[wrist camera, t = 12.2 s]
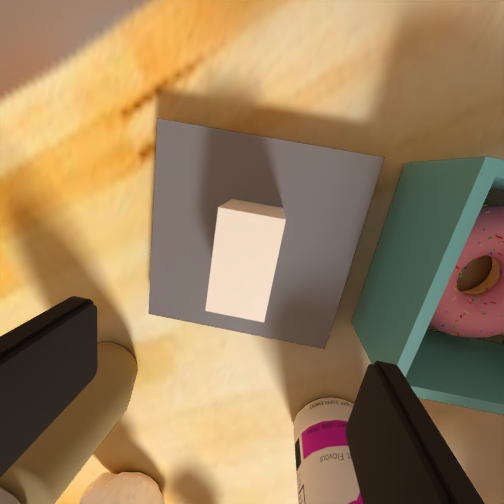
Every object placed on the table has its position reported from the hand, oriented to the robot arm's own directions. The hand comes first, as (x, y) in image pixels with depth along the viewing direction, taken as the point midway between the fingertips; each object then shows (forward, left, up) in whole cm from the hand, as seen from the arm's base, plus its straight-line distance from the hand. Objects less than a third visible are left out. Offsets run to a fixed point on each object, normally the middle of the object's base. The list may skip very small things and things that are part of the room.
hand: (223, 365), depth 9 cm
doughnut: (-18, -1, -15) cm, 23 cm away
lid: (0, 0, -15) cm, 15 cm away
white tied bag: (+9, +36, -15) cm, 40 cm away
